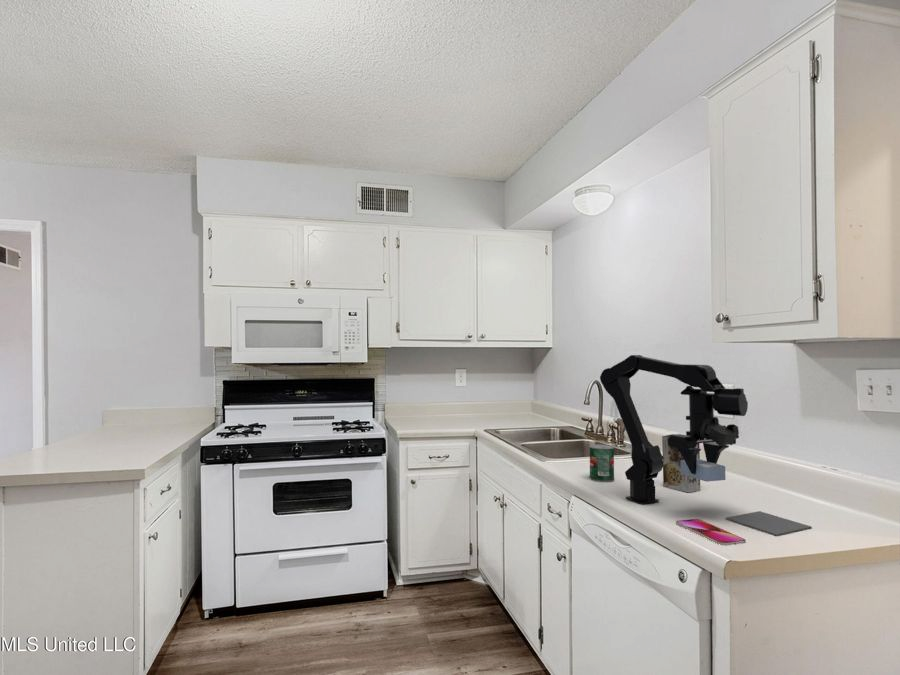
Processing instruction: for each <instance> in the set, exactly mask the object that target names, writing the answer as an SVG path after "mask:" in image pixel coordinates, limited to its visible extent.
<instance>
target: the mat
mask: <svg viewBox="0 0 900 675" xmlns="http://www.w3.org/2000/svg"><path fill="white" fill-rule="evenodd" d="M725 520H727V521H729V522H733V523H736V524H739V525H742V526H744V527H748V528H751V529H754V530H757V531H760V532H763V533H766V534H768V535H772V536H774V537H779V536H784V535H788V534H792V533H796V532H800V531H806V530H809V529H812V528H813V527H812V526H811V525H807V524H804V523H801V522H798V521H794V520H790V519H788V518H785V517H784V518H783V517H782V516H781V517H780V516H778V515H774V514H772V513H768V512H765V511H764V512H763V511H761V510H760V511H753V512H748V513H743V514H738V515H732V516H727V517H725Z"/></svg>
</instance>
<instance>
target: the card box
mask: <svg viewBox="0 0 900 675" xmlns="http://www.w3.org/2000/svg"><path fill="white" fill-rule="evenodd" d="M681 474H684V475H687V476H690V477H693V478H696V479H699V480H700V481H703V482H716V481H717V482H718V481H726V478H727V477H726V465H722V464H718V463H717V464H715V463H712V462H708V461H707V460H703V459H701V458H700V459H697V464H696V474H692V473H691V472H690V470H689V468H688V466H687V464H686V462H685V460H681Z"/></svg>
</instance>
